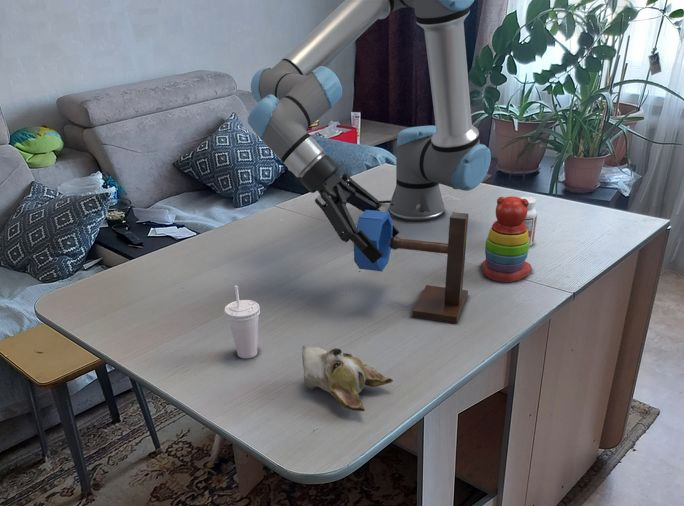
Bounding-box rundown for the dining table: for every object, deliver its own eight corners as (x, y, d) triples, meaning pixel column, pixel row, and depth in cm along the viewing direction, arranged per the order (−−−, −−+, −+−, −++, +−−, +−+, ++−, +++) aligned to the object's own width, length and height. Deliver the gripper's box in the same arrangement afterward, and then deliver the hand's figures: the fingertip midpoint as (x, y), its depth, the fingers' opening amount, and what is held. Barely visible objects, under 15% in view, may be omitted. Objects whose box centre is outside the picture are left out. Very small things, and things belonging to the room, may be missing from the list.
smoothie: (231, 345, 124) (222, 279, 116) (264, 343, 124) (257, 276, 117) (229, 363, 118) (219, 295, 111) (264, 361, 119) (257, 292, 111)
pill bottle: (518, 236, 164) (523, 193, 158) (538, 242, 160) (544, 199, 154) (502, 242, 161) (507, 199, 155) (522, 249, 157) (528, 205, 151)
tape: (354, 275, 131) (353, 223, 125) (371, 254, 140) (370, 204, 134) (376, 278, 129) (377, 225, 123) (392, 256, 138) (393, 206, 132)
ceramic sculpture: (320, 322, 112) (397, 350, 105) (320, 363, 117) (393, 392, 110) (284, 351, 105) (363, 383, 98) (285, 393, 109) (361, 426, 103)
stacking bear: (532, 267, 148) (543, 192, 139) (524, 286, 141) (534, 207, 131) (485, 261, 152) (493, 187, 143) (475, 278, 145) (481, 201, 135)
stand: (380, 312, 133) (380, 219, 122) (395, 287, 142) (397, 199, 132) (456, 323, 128) (463, 227, 117) (467, 296, 137) (475, 205, 127)
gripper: (322, 162, 140) (390, 236, 143) (276, 197, 121) (355, 282, 124) (344, 138, 135) (414, 216, 138) (300, 171, 116) (382, 260, 120)
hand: (386, 247), depth 131 cm, fingers closed on tape, 11 cm apart
